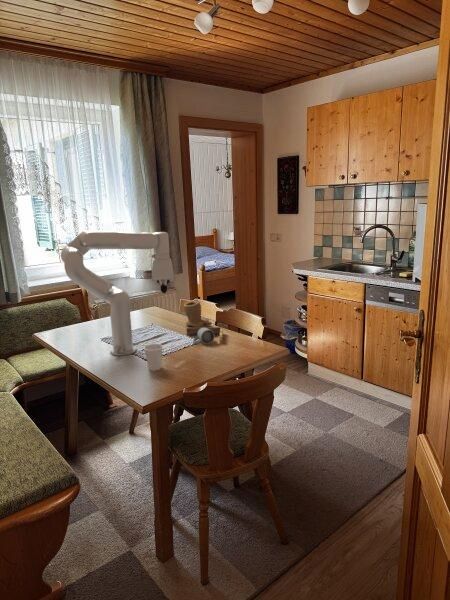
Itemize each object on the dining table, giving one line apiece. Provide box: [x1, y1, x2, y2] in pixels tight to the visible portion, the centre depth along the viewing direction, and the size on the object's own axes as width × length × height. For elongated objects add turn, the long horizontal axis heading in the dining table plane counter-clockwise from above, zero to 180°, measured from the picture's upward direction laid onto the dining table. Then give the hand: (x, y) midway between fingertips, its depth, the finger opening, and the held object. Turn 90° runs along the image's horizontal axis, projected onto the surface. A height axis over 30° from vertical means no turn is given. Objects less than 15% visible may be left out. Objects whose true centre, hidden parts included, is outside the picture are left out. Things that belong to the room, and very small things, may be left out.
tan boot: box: [183, 300, 213, 328], centre depth 243 cm, size 15×12×15 cm
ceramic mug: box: [192, 328, 216, 345], centre depth 215 cm, size 11×8×8 cm
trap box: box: [186, 326, 224, 345], centre depth 220 cm, size 17×20×4 cm
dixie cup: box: [143, 343, 164, 372], centre depth 182 cm, size 8×8×10 cm
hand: (164, 292), depth 210 cm, fingers closed
